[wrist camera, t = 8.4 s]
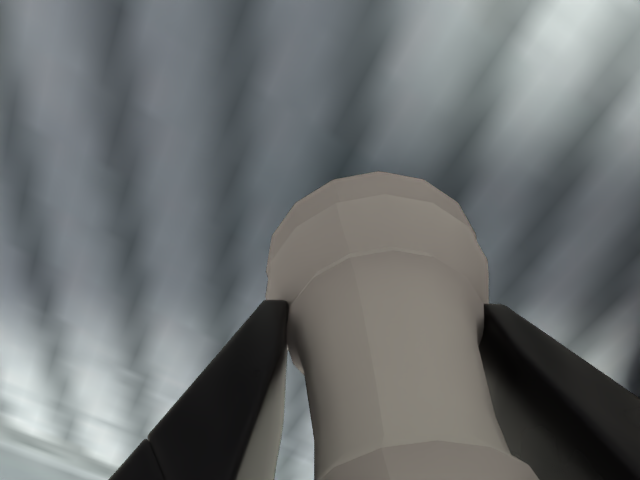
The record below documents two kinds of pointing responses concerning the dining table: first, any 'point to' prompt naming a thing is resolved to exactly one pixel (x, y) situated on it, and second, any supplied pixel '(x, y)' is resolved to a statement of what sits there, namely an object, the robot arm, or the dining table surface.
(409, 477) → the rook chess piece
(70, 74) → the dining table surface
